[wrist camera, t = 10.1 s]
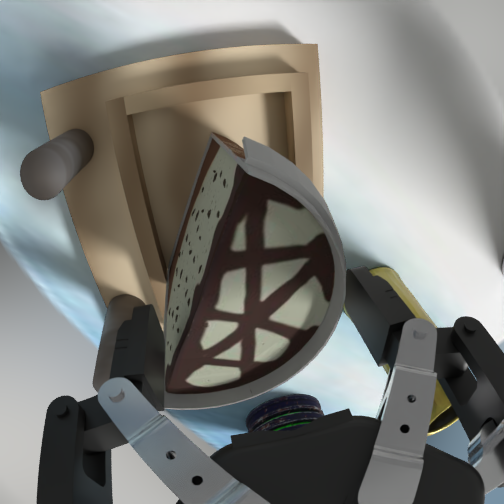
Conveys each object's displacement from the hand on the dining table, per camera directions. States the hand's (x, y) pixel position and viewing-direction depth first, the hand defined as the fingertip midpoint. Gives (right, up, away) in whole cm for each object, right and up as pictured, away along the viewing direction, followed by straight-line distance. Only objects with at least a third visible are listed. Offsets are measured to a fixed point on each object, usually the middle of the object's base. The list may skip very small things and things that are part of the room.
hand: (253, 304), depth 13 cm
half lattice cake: (-1, +4, +7) cm, 9 cm away
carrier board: (-4, +5, +8) cm, 11 cm away
